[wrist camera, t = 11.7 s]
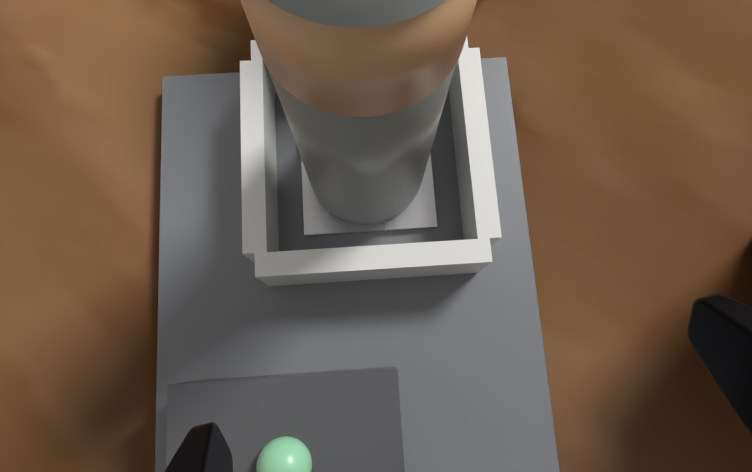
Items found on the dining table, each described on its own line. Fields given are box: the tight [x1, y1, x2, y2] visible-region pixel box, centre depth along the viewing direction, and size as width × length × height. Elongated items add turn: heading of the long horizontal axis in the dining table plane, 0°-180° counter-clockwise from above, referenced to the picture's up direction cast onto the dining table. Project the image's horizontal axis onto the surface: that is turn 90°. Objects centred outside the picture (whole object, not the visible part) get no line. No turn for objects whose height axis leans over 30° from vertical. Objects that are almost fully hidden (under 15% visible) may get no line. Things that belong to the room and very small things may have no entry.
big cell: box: [240, 0, 477, 224], centre depth 14 cm, size 4×4×14 cm
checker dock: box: [155, 36, 560, 472], centre depth 18 cm, size 19×14×5 cm
